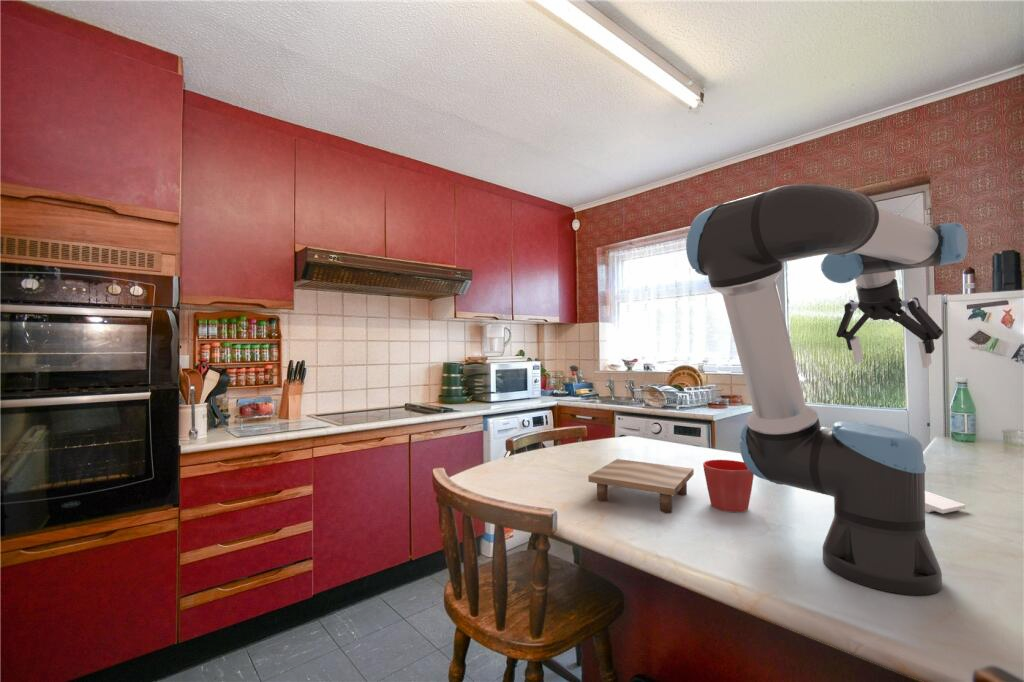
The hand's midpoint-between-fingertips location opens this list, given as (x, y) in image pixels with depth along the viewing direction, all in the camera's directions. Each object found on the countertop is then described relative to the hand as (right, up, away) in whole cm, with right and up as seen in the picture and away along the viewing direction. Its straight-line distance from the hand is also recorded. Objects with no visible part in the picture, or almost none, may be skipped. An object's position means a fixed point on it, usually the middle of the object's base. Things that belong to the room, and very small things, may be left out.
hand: (891, 362), depth 112 cm
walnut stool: (-60, -33, +2) cm, 68 cm away
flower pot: (-42, -33, -6) cm, 54 cm away
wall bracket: (0, -33, +2) cm, 34 cm away
